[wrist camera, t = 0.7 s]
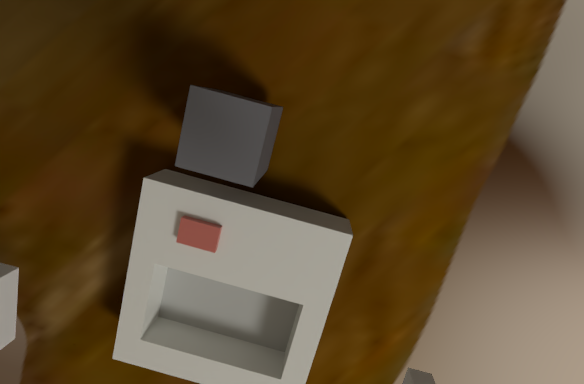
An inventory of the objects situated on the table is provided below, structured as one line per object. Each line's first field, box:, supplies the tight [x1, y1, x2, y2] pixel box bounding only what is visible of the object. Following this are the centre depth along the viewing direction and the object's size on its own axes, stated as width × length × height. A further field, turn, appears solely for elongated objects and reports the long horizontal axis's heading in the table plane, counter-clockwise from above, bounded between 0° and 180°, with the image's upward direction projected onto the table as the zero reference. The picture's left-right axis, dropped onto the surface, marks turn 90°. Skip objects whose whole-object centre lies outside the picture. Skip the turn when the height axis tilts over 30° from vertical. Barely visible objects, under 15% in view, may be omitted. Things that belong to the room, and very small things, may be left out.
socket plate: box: [113, 169, 353, 384], centre depth 31 cm, size 16×16×5 cm
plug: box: [175, 85, 283, 188], centre depth 26 cm, size 5×5×8 cm
